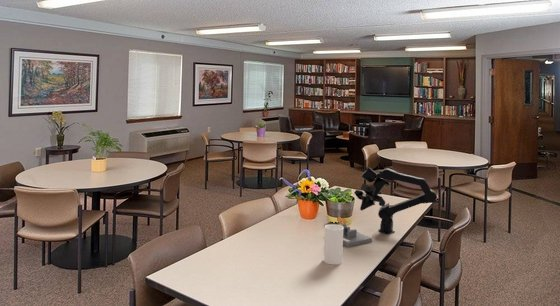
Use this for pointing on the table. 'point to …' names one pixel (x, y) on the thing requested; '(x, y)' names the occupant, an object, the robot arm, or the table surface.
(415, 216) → the table surface
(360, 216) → the table surface
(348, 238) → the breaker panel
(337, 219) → the lever
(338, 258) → the cup
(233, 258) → the table surface
